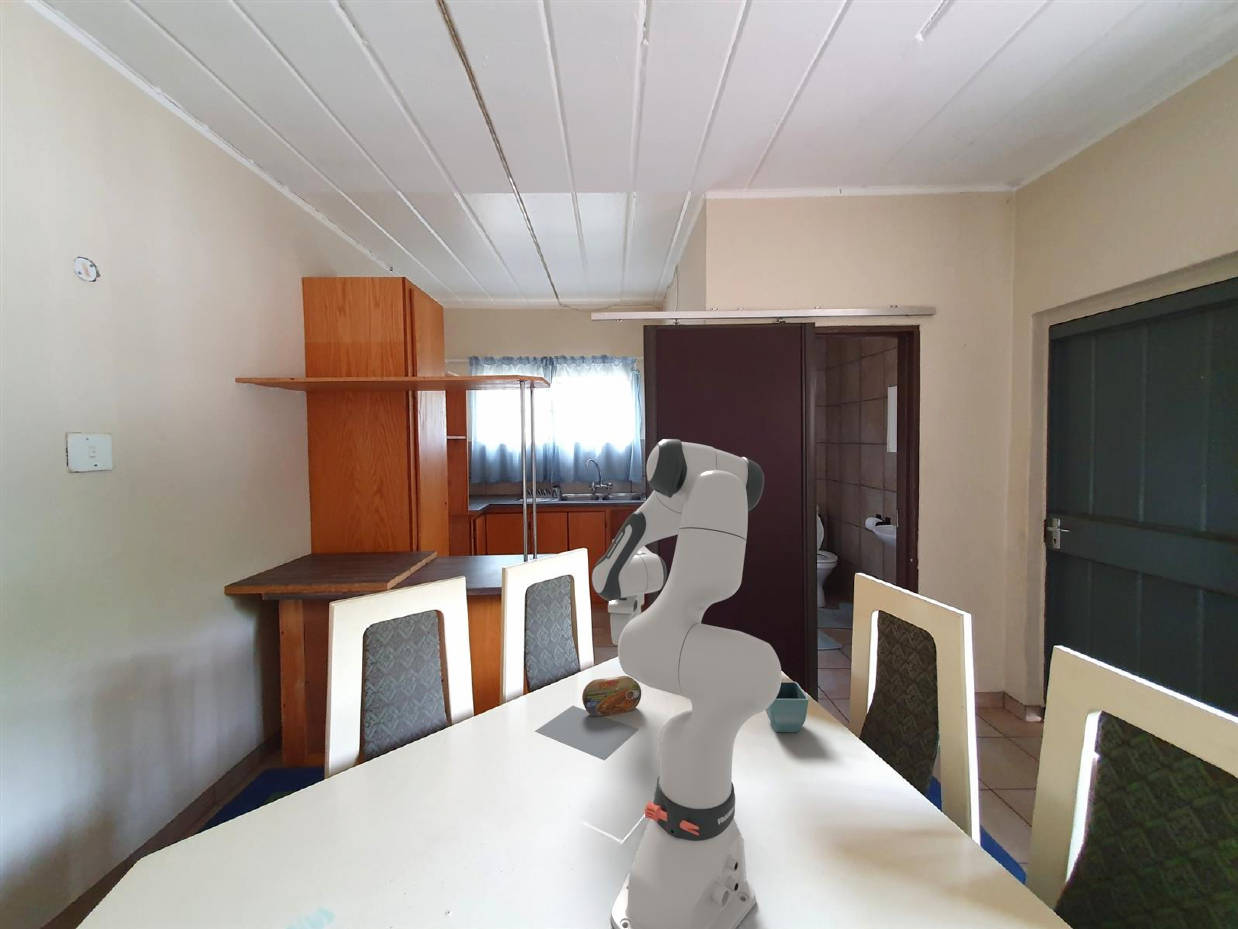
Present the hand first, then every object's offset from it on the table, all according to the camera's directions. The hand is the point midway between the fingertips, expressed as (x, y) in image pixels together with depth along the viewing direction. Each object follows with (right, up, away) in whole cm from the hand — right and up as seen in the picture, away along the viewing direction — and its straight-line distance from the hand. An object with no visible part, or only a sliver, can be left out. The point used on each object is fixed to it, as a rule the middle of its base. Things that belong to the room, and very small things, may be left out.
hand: (628, 648), depth 131 cm
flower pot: (+37, -14, -13) cm, 41 cm away
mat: (-10, -14, -14) cm, 22 cm away
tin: (-4, -14, -6) cm, 16 cm away
